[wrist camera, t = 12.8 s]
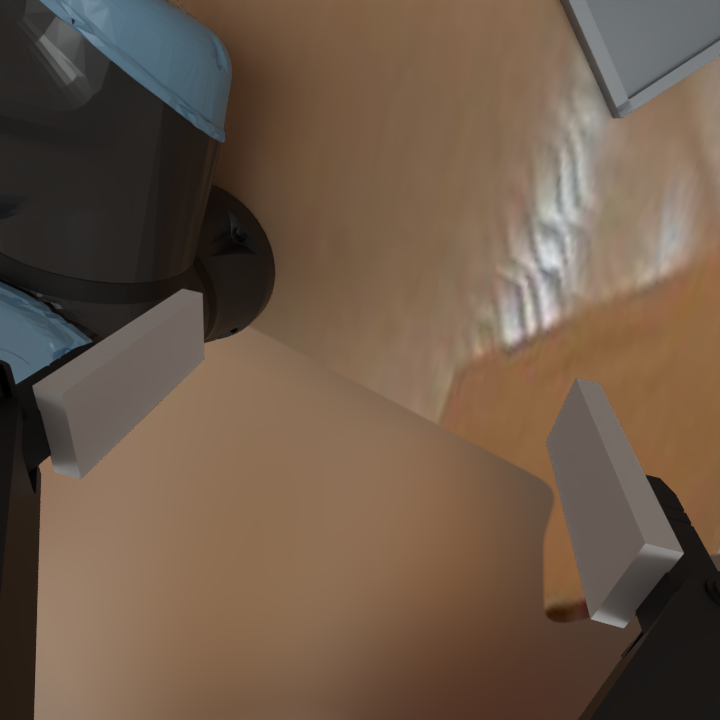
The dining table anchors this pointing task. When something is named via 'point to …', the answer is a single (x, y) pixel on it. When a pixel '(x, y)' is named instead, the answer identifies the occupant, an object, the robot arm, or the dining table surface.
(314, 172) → the dining table surface
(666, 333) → the dining table surface
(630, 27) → the tray
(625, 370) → the dining table surface
